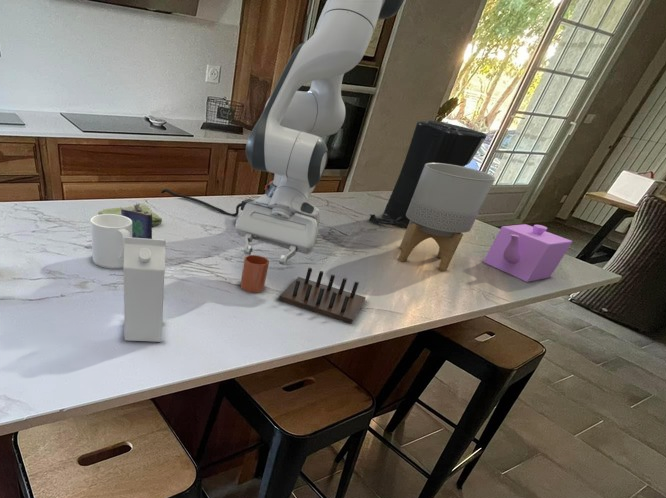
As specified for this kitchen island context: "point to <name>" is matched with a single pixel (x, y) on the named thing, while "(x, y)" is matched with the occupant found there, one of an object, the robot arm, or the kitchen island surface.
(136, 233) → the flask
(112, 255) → the mug
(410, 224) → the planter
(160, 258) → the milk carton
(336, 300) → the rack
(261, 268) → the cup
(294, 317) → the kitchen island surface
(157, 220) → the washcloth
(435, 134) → the coffee maker
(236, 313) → the kitchen island surface
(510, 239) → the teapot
